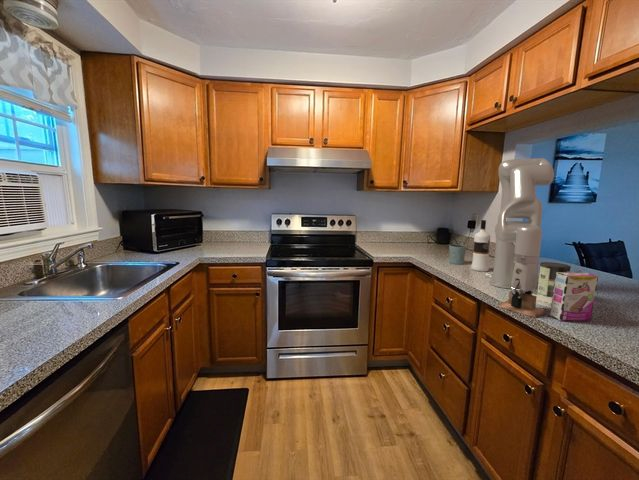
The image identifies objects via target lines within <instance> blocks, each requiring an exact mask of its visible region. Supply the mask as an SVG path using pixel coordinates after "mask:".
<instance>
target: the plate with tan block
mask: <svg viewBox="0 0 639 480" xmlns="http://www.w3.org/2000/svg"><path fill="white" fill-rule="evenodd" d="M517 292H518V293H520V291H517ZM521 298H522V306H521V308H520V309H519V308H516V307H512V306H511V301H512V293H511V290H510V291H509V295H508V300H504V301H502V302H499V308H501V309H506V310H507V311H508V310H510V311H512V312H516V313H519V314H521V315H525V316H528V317H532V318H537V317H539V316H541V315H544V314H545V309H543V308H541V307H540V308H539V307H536V306H537V304H536V298H537V296H534V295H530V294H526V293H525V292H524V293H522V296H521Z"/></svg>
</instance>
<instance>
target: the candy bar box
mask: <svg viewBox="0 0 639 480" xmlns="http://www.w3.org/2000/svg"><path fill="white" fill-rule="evenodd" d="M598 280H599V275H596V274H593V273H588V272H578V271H577V272H575V271H574V272H573V271H572V272H571V271H570V272H556V276H555V283H554V290H553V297H552V304H551V308H550V312H549V316H550V317H552V318H554V319H555V320H558V321H559V322H591V321H592V316H593V310H594V304H595V298H596V293H597V286H598Z"/></svg>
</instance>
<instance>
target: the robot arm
mask: <svg viewBox="0 0 639 480" xmlns="http://www.w3.org/2000/svg"><path fill="white" fill-rule="evenodd" d="M498 177H499V181H500V185H501V198H500V200H501V201H500V212H499V214H498V217H497V223H496V225H495V227H494V228H495V229H494V233H495V249H494V250H495V252H494V262H493V272H492V273H488V272H486V273H485V278H488V279H489V281H488V284H490V285H491V286H493V287H497V288H501V289H502V288H503V289H510V291H511V293H512V301H511V306H512V307H516V308H519V309H520V308H521V306H522V298H521V296H522V293H526V294H530V295H532V294H534V290H535V289H538V280H539V266H540V256H541V255H540V254H541V246H542V245H541V244H542V239H543V238H542V236H543V229H542V228H541V226H542V225H541V224H542V216H543V215H542V214H543V203H542V201H541V199H539V198H537V193H536V192H537V191H536V189H537V188H536V187H538V186H539V187H540V186H541V187H543V186H549V185H551V184H552V183H553V181H554V178H555V171H554V168H553V166H552V164H551V163H550V162H549V161H548V160H547V159H546V158H543V157H541V158H540V157H539V158H538V157H537V158H514V159H507V160H503V161H502V162H501V163H500V164H499V166H498ZM507 219H527V221H522V220H507ZM517 291H518V292H520V293H518V292H517Z"/></svg>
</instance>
